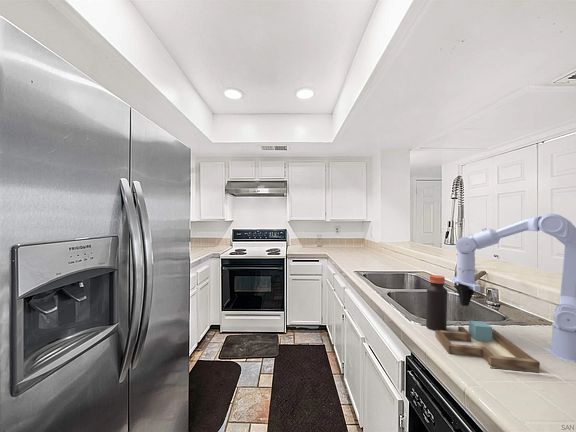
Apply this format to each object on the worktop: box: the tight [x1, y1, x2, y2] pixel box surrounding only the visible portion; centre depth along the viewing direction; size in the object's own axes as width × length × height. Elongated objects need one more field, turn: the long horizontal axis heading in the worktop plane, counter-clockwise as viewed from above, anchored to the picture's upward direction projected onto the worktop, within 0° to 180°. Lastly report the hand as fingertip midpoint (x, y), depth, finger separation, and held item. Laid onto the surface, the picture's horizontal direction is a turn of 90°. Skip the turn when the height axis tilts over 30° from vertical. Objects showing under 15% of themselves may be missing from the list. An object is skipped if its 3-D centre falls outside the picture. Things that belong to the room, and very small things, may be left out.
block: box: [468, 320, 493, 342], centre depth 98 cm, size 5×5×5 cm
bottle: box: [425, 274, 448, 332], centre depth 106 cm, size 7×7×20 cm
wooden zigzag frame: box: [434, 326, 541, 374], centre depth 90 cm, size 21×22×3 cm
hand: (464, 305), depth 106 cm, fingers closed
